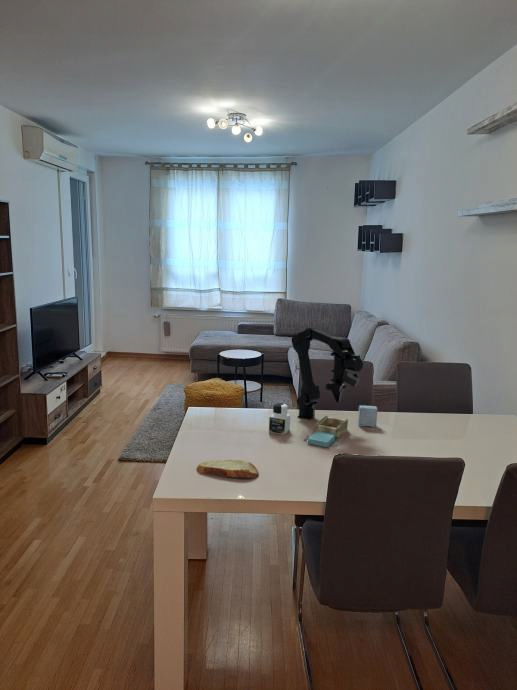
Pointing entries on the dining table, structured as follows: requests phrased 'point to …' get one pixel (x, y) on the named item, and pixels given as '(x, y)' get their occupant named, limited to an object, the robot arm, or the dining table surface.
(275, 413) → the medicine bottle
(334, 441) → the grey mat
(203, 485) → the dining table surface
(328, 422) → the wooden box
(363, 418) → the medicine box
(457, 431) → the dining table surface
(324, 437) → the cover plate
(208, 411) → the dining table surface
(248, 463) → the slice of bread
